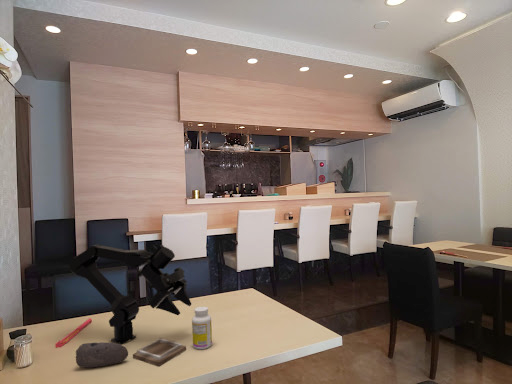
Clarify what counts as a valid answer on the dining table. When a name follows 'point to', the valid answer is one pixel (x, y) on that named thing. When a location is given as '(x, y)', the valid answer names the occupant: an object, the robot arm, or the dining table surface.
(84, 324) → the chopstick
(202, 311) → the supplement bottle
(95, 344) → the perforated stone tool
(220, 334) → the dining table surface
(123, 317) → the robot arm
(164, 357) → the seat plate
